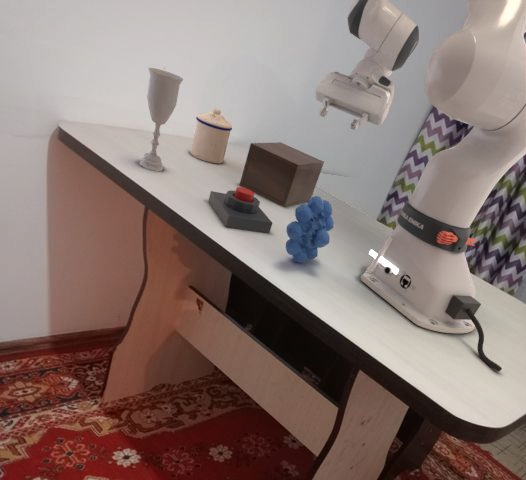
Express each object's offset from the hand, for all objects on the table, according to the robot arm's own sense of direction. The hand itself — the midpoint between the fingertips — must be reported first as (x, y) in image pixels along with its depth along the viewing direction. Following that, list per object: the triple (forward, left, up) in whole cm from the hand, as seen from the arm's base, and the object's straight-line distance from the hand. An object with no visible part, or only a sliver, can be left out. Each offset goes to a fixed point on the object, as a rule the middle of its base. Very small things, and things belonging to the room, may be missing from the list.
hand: (337, 121), depth 120 cm
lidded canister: (+6, +31, -17) cm, 36 cm away
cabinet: (-14, +18, -17) cm, 28 cm away
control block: (-34, +35, -17) cm, 51 cm away
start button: (-34, +35, -14) cm, 50 cm away
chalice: (-12, +48, -17) cm, 52 cm away
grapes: (-52, +29, -17) cm, 61 cm away
